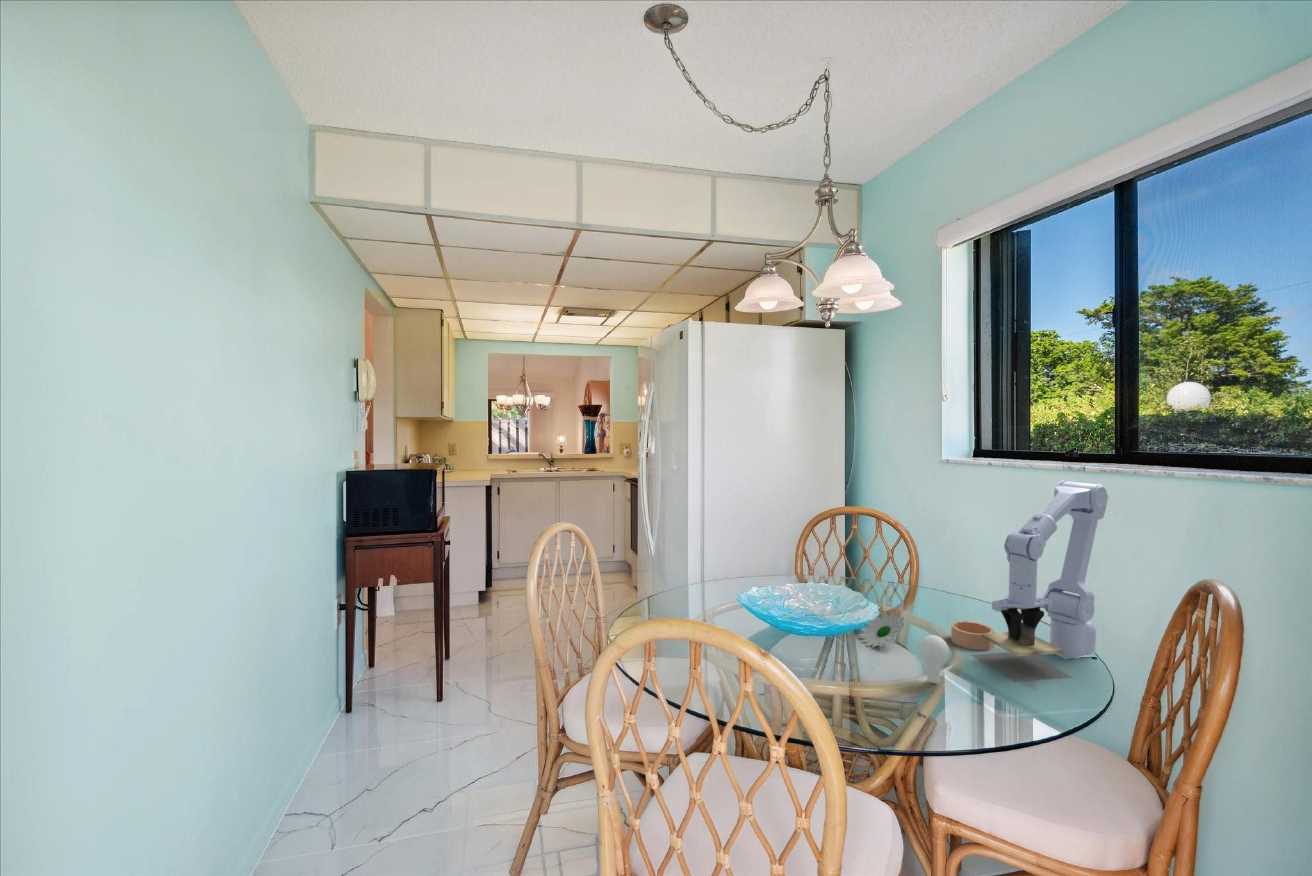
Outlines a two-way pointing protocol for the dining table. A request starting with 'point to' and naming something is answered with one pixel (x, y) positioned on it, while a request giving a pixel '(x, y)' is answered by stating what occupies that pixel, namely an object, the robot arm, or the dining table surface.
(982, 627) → the bowl
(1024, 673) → the mat
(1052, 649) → the lid
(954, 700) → the dining table surface
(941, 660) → the lightbulb
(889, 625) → the flower
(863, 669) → the dining table surface
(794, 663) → the dining table surface
